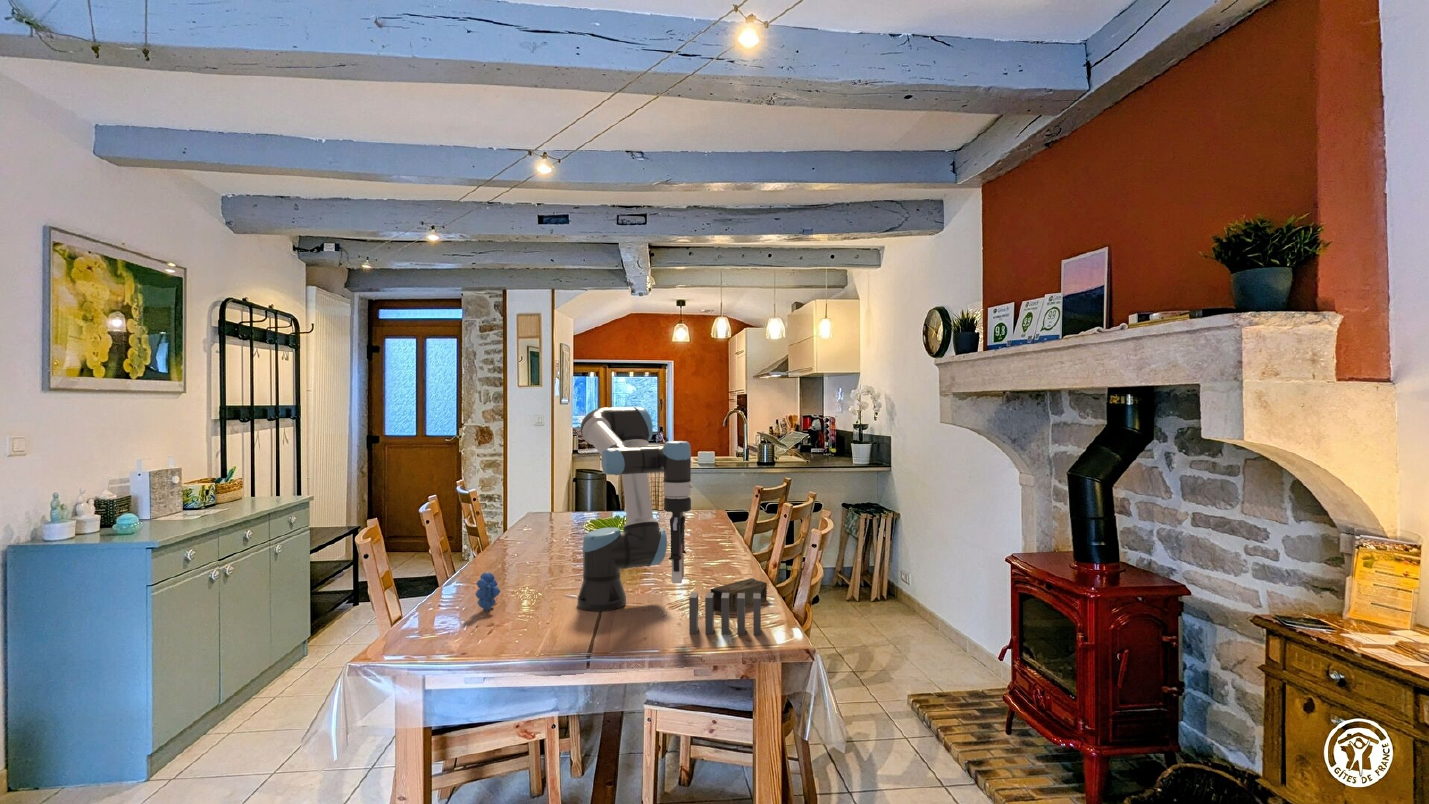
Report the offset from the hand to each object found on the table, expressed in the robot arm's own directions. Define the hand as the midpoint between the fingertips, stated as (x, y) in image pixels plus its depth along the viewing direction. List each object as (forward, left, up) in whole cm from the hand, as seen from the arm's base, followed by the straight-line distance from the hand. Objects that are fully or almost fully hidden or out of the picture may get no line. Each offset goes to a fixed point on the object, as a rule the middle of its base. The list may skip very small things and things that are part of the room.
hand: (678, 579), depth 191 cm
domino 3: (+13, 0, -14) cm, 19 cm away
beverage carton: (+16, +25, -15) cm, 33 cm away
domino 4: (+18, 0, -14) cm, 23 cm away
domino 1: (+4, 0, -14) cm, 15 cm away
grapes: (-60, +15, -14) cm, 63 cm away
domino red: (0, 0, 0) cm, 0 cm away
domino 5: (+22, 0, -14) cm, 26 cm away
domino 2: (+9, 0, -14) cm, 17 cm away
